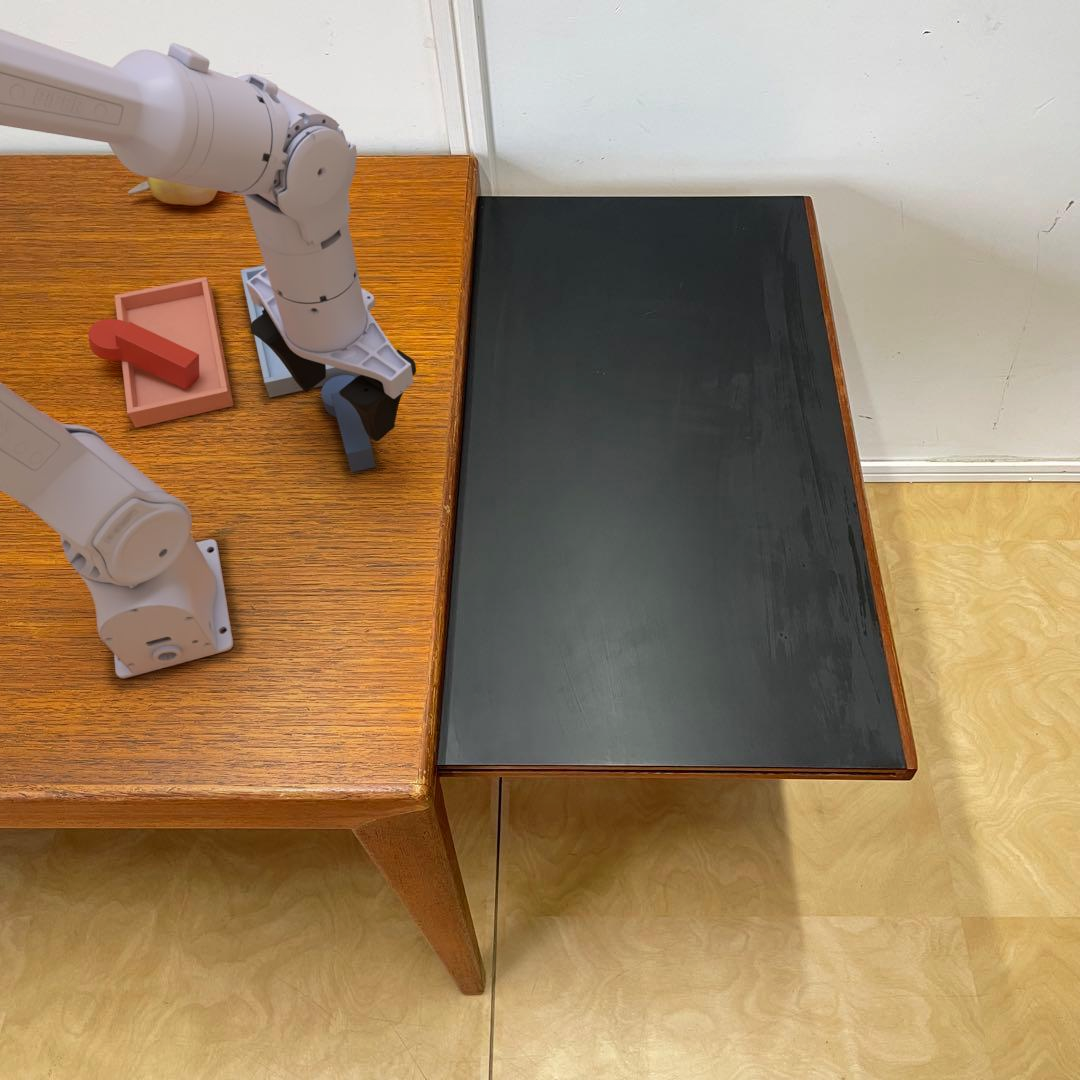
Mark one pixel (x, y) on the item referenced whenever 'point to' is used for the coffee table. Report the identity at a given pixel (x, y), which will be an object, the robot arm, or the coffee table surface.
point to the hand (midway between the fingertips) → (347, 407)
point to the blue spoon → (348, 424)
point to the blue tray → (271, 365)
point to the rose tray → (187, 323)
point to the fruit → (175, 192)
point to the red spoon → (144, 351)
